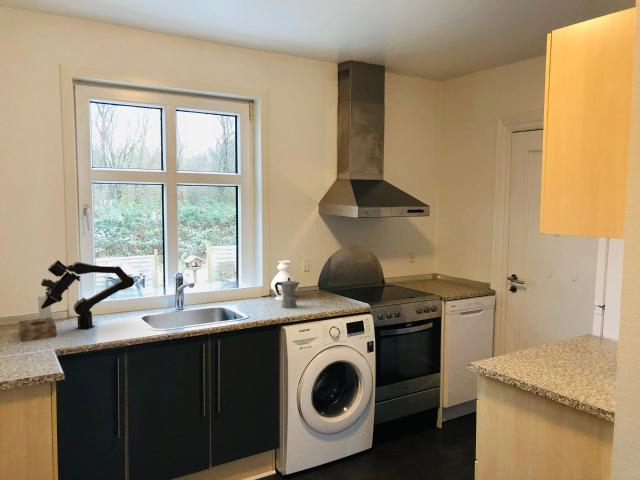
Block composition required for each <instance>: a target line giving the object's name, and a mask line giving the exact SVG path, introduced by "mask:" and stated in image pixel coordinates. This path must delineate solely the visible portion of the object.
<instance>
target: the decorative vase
mask: <svg viewBox="0 0 640 480" xmlns="http://www.w3.org/2000/svg"><path fill="white" fill-rule="evenodd" d="M278 263H279V264H278V265H277V270H278V272H277V274H276V275H275V276H274V277H273V279H272V281H271V283H270V284H271V285H270V287H271V290H272V291H273V292H274V293H275V295H276V296H275V300H276V301H283V296H284V294H283V290H282V285H277V286H278V290H279V294H281V295H278V294H277V291H276V289H275V284H276V283H277V282H284V281H288V278H290V281H294V282H299V281H298V280H297V277H296V276H295V275H294V274H293V273H292V272H291V270H292V268H293V266H292V264H290V263H291V260H286V259H285V260H284V259H283V260H278ZM298 289H299V285H298V286H297V288H296V290H295V292H296V291H297V290H298Z"/></svg>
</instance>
